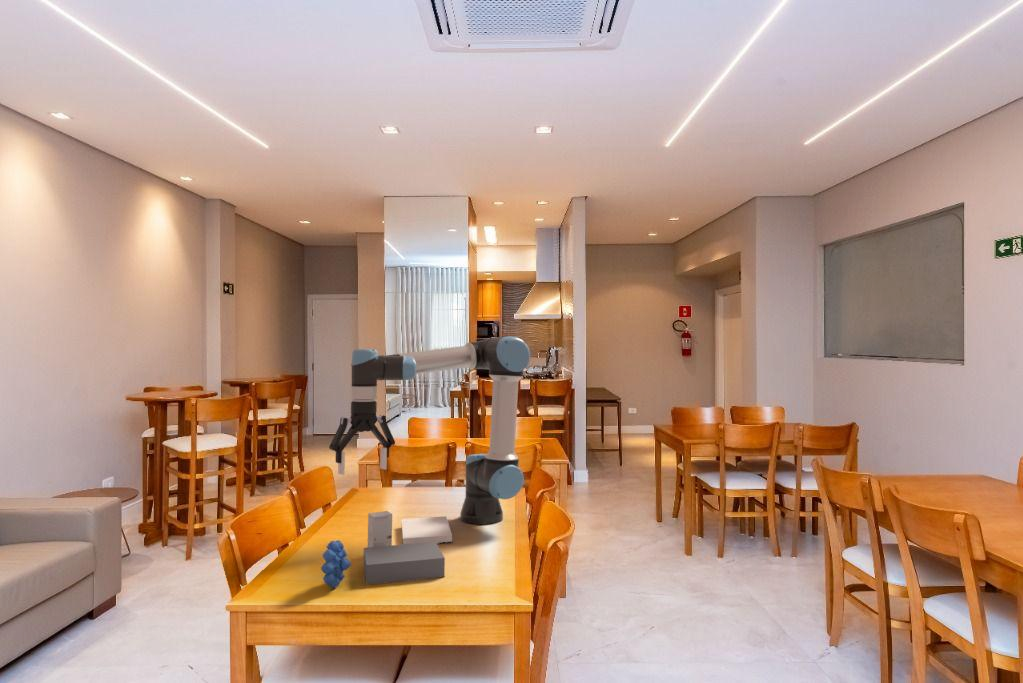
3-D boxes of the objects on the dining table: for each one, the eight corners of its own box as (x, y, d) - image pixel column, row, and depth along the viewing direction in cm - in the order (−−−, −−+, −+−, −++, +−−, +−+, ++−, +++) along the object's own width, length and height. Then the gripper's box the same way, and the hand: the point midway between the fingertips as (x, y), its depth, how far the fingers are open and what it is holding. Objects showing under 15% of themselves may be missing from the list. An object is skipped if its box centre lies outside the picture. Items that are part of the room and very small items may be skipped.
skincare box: (372, 559, 172) (372, 516, 172) (366, 555, 176) (367, 513, 176) (392, 555, 176) (393, 513, 176) (386, 551, 179) (387, 510, 180)
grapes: (341, 597, 145) (342, 547, 145) (314, 596, 146) (315, 546, 146) (359, 579, 157) (359, 533, 157) (333, 578, 157) (334, 532, 158)
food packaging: (452, 546, 187) (446, 526, 207) (452, 535, 187) (446, 516, 207) (403, 549, 184) (401, 528, 204) (403, 538, 184) (401, 519, 204)
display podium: (435, 559, 172) (435, 541, 173) (444, 577, 159) (444, 557, 159) (363, 566, 167) (363, 547, 167) (366, 584, 153) (366, 564, 153)
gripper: (394, 398, 193) (393, 465, 192) (318, 401, 177) (317, 474, 176) (406, 399, 187) (405, 468, 186) (329, 403, 171) (327, 478, 171)
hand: (362, 471), depth 181 cm, fingers open, 13 cm apart
